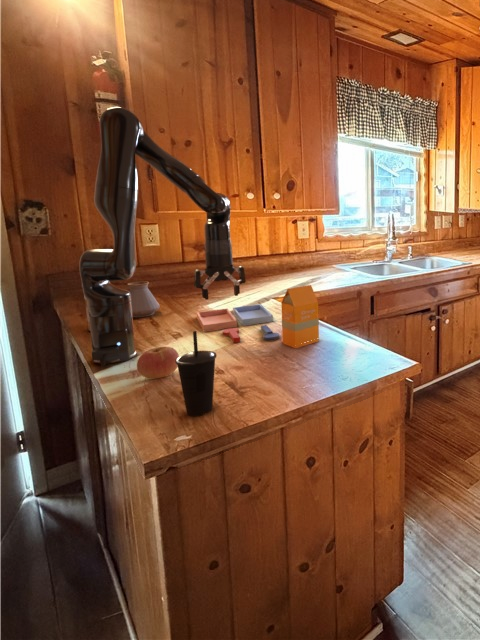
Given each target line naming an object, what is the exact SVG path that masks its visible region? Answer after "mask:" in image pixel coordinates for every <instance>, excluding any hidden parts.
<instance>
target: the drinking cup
mask: <svg viewBox="0 0 480 640" xmlns="http://www.w3.org/2000/svg"><path fill="white" fill-rule="evenodd" d="M197 333H198V331H197V330H193V331H192V339H193V351H190V352H187V353H185V354H183V355H179V358H177V359H176V361H175V363H176V364H177V365H178V366H177V371H178V375H179V380H180V385H181V390H182V395H183V400H184V405H185V411H186V415H187V416H188V417H201V416H203V415H207V414H209V413H210V412H211V411H212V410H213V404H214V403H213V402H214V388H215V387H214V386H215V368H216V367H215V366H216V358H217V357H218V355H217V353H216V352H215V351H210V350H198V349H199V347H198V346H199V345H198V334H197Z"/></svg>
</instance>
